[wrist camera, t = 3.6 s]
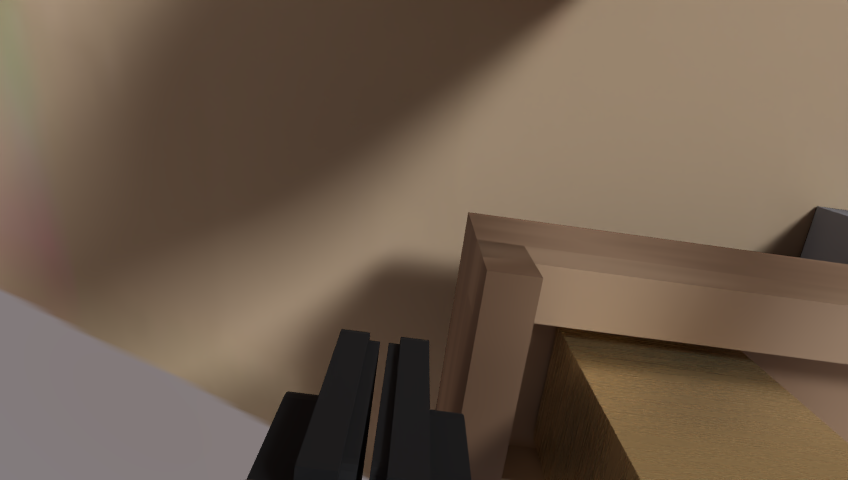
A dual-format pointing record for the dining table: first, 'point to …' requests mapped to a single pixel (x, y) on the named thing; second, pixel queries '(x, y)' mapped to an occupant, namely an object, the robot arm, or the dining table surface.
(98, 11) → the dining table surface
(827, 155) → the dining table surface
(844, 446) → the rider
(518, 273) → the beam
